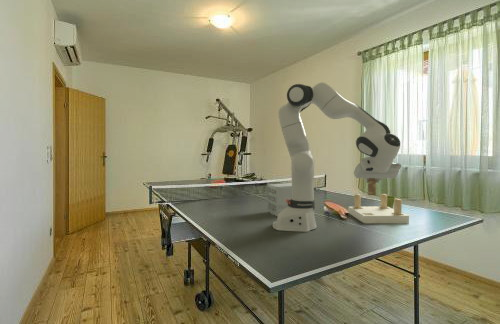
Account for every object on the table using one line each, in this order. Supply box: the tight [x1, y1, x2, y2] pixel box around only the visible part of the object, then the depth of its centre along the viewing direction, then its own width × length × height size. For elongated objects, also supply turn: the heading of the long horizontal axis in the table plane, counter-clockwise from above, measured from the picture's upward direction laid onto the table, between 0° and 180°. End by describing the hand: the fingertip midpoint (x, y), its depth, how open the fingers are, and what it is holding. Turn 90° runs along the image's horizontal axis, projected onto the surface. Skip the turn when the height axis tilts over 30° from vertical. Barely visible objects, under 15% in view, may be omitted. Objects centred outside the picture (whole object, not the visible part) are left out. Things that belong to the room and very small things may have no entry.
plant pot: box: [379, 195, 397, 209], centre depth 179 cm, size 9×9×9 cm
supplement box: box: [267, 182, 292, 217], centre depth 172 cm, size 17×13×18 cm
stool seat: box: [347, 193, 410, 224], centre depth 160 cm, size 24×24×12 cm
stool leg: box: [367, 178, 377, 196], centre depth 140 cm, size 4×4×11 cm
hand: (371, 181), depth 141 cm, fingers closed on stool leg, 4 cm apart
